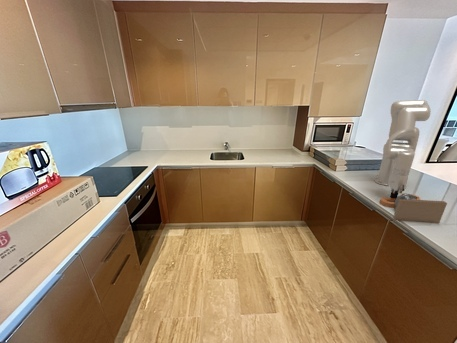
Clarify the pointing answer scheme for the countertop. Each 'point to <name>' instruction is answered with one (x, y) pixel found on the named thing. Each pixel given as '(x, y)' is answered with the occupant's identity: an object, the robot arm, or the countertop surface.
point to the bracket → (391, 201)
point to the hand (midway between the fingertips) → (393, 198)
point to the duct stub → (418, 209)
